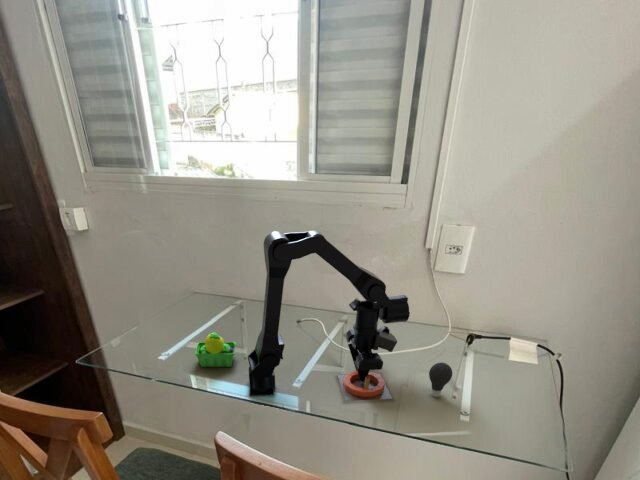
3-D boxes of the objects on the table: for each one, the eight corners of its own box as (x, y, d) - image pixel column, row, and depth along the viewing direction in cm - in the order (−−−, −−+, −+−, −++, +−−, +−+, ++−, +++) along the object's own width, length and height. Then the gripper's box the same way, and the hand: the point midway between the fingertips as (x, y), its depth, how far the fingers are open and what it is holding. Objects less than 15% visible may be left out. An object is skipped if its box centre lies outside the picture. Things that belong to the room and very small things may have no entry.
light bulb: (446, 393, 111) (455, 360, 105) (445, 404, 107) (454, 371, 101) (424, 389, 113) (432, 357, 107) (423, 400, 109) (430, 367, 103)
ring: (347, 397, 109) (348, 392, 108) (340, 376, 117) (341, 371, 116) (388, 395, 109) (389, 390, 108) (378, 374, 118) (378, 370, 117)
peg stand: (345, 402, 108) (347, 386, 105) (337, 376, 118) (338, 361, 115) (392, 400, 109) (395, 384, 106) (379, 375, 119) (382, 359, 116)
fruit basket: (237, 356, 128) (234, 322, 121) (235, 371, 121) (232, 335, 114) (200, 357, 128) (195, 322, 121) (196, 371, 121) (190, 336, 114)
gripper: (407, 339, 100) (397, 392, 110) (387, 309, 115) (380, 358, 125) (362, 340, 100) (356, 394, 109) (347, 310, 115) (343, 360, 124)
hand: (360, 375), depth 117 cm, fingers open, 5 cm apart
